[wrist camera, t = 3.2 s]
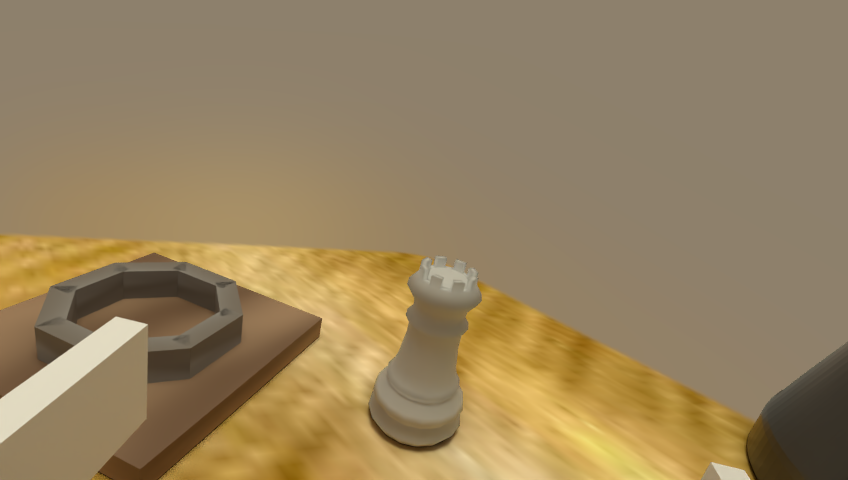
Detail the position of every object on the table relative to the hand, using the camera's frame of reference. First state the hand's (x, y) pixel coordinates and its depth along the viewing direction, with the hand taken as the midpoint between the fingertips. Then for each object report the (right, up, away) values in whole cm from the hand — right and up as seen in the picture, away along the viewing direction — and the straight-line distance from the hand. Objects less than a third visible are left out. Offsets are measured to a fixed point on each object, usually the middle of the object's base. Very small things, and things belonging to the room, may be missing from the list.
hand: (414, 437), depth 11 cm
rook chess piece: (0, -4, +12) cm, 13 cm away
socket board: (-13, -1, +13) cm, 18 cm away
